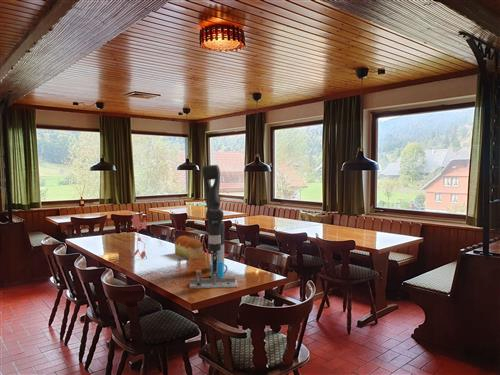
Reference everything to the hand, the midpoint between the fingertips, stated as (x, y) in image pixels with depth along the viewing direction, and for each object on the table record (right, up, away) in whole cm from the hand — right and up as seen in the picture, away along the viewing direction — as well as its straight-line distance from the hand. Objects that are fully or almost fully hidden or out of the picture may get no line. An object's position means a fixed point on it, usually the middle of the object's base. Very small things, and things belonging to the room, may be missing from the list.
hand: (214, 270), depth 229 cm
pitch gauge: (0, -8, -3) cm, 9 cm away
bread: (-28, -5, +75) cm, 80 cm away
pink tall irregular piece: (-67, -5, +64) cm, 92 cm away
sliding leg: (0, -6, -2) cm, 6 cm away
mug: (+2, -8, +18) cm, 19 cm away
